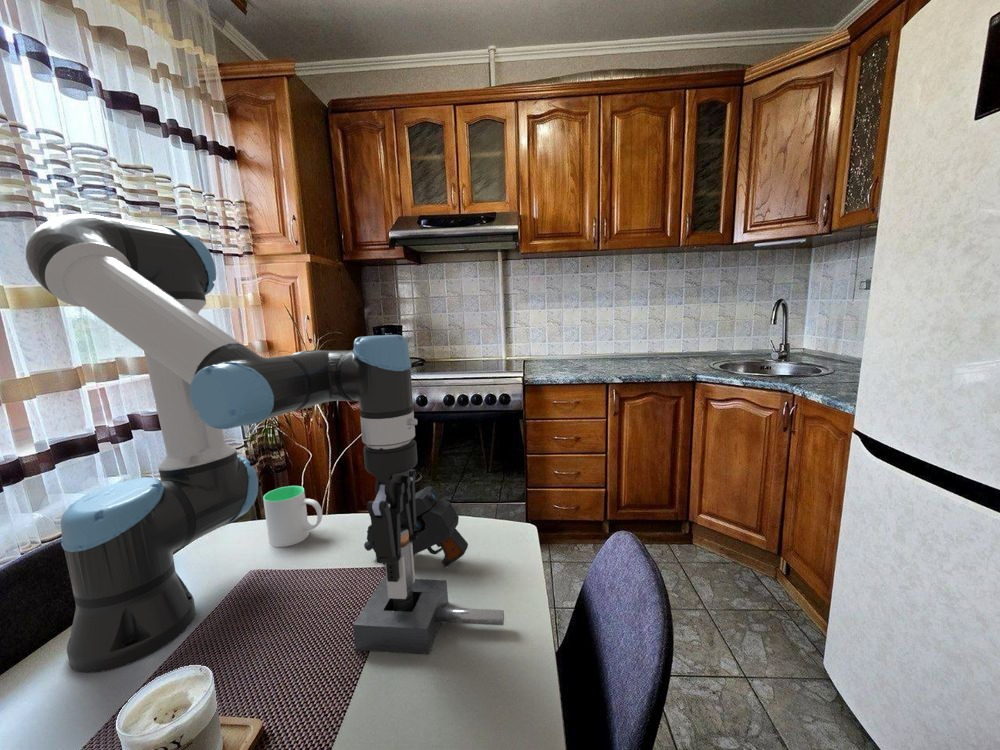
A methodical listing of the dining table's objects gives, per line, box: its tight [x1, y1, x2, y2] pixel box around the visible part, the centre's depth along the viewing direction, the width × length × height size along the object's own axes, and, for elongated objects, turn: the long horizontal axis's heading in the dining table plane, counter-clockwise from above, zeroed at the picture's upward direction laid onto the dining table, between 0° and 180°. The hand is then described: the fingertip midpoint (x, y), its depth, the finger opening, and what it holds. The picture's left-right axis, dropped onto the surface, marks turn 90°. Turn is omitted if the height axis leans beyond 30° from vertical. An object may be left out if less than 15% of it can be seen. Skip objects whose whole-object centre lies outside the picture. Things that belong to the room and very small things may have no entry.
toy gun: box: [363, 485, 469, 569], centre depth 83 cm, size 6×19×15 cm, turn 78°
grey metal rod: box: [393, 527, 414, 612], centre depth 65 cm, size 3×3×15 cm
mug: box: [262, 485, 323, 548], centre depth 94 cm, size 12×8×10 cm
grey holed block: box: [352, 577, 505, 656], centre depth 65 cm, size 21×11×4 cm, turn 83°
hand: (402, 588), depth 65 cm, fingers closed on grey metal rod, 3 cm apart
